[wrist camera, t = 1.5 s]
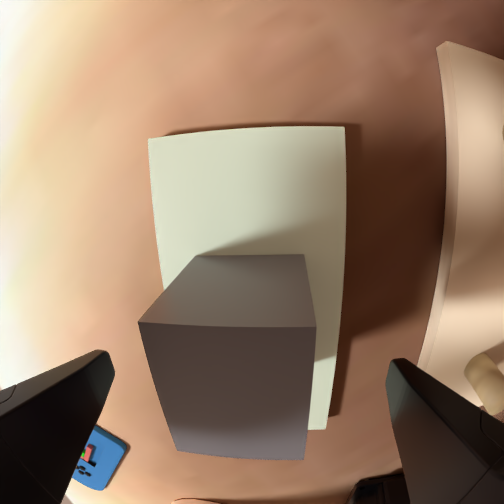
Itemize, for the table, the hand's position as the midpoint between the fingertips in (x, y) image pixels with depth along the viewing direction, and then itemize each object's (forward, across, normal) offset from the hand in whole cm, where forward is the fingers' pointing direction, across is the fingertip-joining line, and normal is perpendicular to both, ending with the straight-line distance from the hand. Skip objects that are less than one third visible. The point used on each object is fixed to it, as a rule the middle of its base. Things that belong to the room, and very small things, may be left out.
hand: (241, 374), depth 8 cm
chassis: (+4, -13, -2) cm, 14 cm away
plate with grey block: (+5, 0, 0) cm, 5 cm away
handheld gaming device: (+5, +17, +16) cm, 24 cm away
